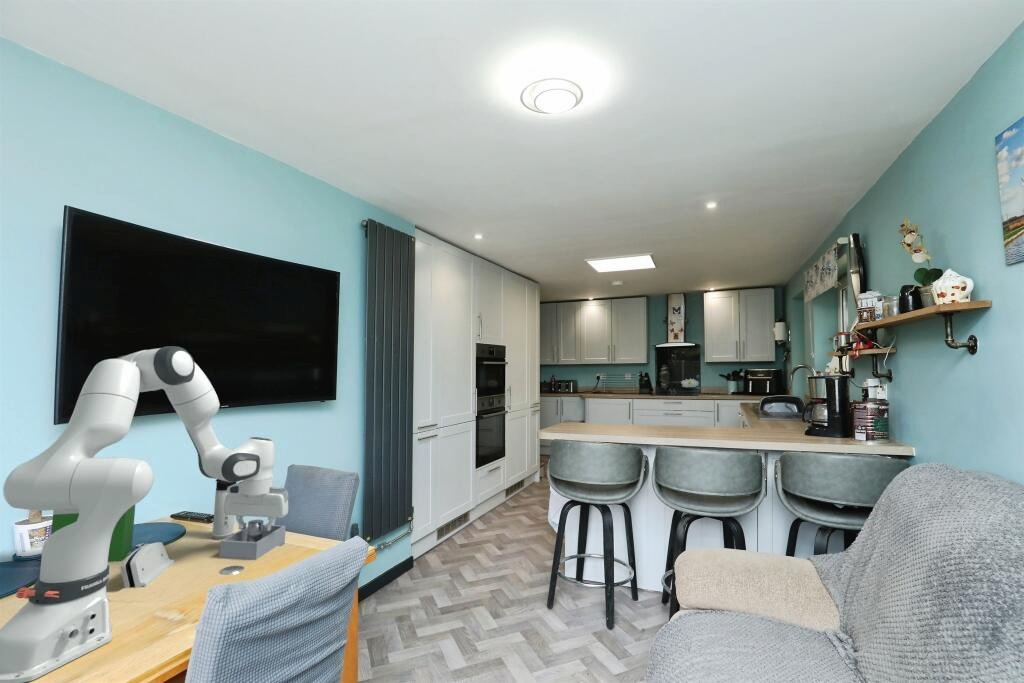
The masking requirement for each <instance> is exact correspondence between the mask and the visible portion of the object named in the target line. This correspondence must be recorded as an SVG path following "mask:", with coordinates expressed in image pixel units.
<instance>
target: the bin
mask: <svg viewBox="0 0 1024 683" xmlns="http://www.w3.org/2000/svg"><path fill="white" fill-rule="evenodd" d="M264 525H265V524H263V533H262V539H261V540H259V541H257V542H247V532H248V526H246V528H245V529H239V530H238V531H236V532H235V533H233V535H231V536H229V537H227V538H225V539H221V540H220V542H219V555H218V556H219V558H220V559H231V560H232V559H233V560H234V559H235V560H236V559H237V560H252V561H257V560H258V559H259V558H261V557H263V556H265V554H268V553H269V552H270V551H272V550H273V549H275V548H277V547H282V546H283V545H285V542H286V525H279V524H278V525H275V524H271V530H270V531H264Z"/></svg>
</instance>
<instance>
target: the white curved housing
mask: <svg viewBox="0 0 1024 683" xmlns="http://www.w3.org/2000/svg"><path fill="white" fill-rule="evenodd" d="M174 564H175V560H174V559H170V558H169V555H168V553H167V550H166V548H165V546H164V544H163V542H161V541H159V542H158V541H157V542H152V543H149V544H146V545H143V546H140V547H138V548H137V549H135V550H134V551H133V550H132V551H131V553H130V554H129V555H128V556H126V557H125V558H124V559H123V562H122V563H121V565H120V572H121V575H122V580H123V586H124V588H125V589H130V588H137V589H138V588H141V587H144V588H145V587H148V586H149V585H150V584H151V583H152V582H154V581H155V580H156V579H157V578H159V577H160V576H161V575H162V574H163V573H165V572H166V571H167V570H168V569H169V568H171V567H172V566H173V565H174Z"/></svg>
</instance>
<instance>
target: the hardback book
mask: <svg viewBox="0 0 1024 683" xmlns="http://www.w3.org/2000/svg"><path fill="white" fill-rule="evenodd" d="M135 515H136V504H135V505H133V506H132V507H131V508H129V509H128V510H127V511H126V512H125V513H124V514H123V515H122V517H121V518H120V519H119V521H118V522H117V524H116V526H115V528H114V530H113V533H112V537H111V542H110V547H109V554H108V563H111V562H112V563H114V562H122V561H124V560H125V559H126V558H127V557H128V556H127V554H128V553H129V552H130V551H131V550H132V549H133V539H134V538H133V536H134V526H135ZM78 517H79V509H66V510H52V522H51V532H50V535H52V534H53V533H54V532H56V531H58V530H59V529H61V528H63V527H65V526H67V525H70V524H72V523H74V522H76V521H77V520H78ZM132 551H133V550H132ZM132 551H131V552H132Z"/></svg>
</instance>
